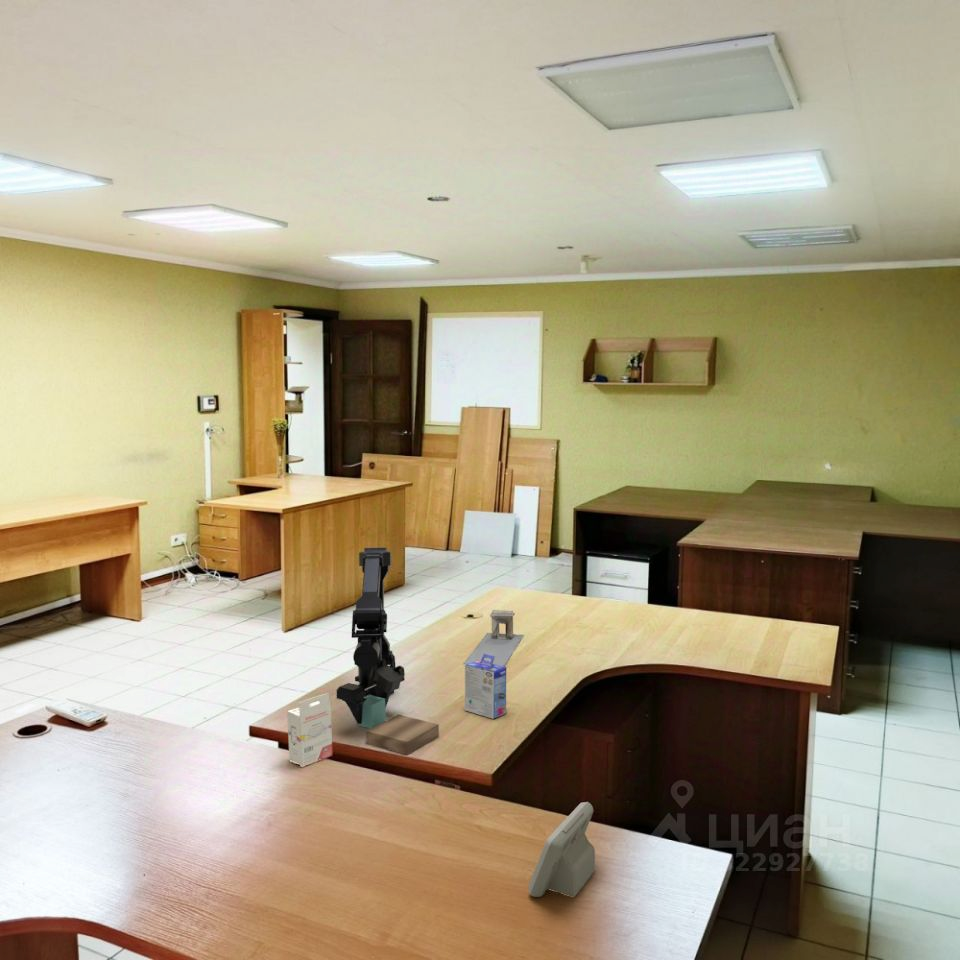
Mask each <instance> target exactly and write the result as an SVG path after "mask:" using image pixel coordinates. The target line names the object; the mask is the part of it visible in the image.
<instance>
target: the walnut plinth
mask: <svg viewBox="0 0 960 960" xmlns="http://www.w3.org/2000/svg"><path fill="white" fill-rule="evenodd" d="M439 725H440V724H439V723H435V722H431V721H426V720H422V719H419V718H414V717H411V716H406V715H402V714H397V715H395V716H392V717H391V718H389V719H386V721H385V722H383V723H381V724H379V725H377V726H375V727H373V728H368V729H367V730H366V731H365V735H366V737H365V740H366V744H367V745H371V746H375V747H378V748H381V749H385V750H389V751H392V752H395V753H398V754H399V753H400V754H403V755H406V756H408V755H410V754H411V753H413V752H415V751H417V750H419V749H421V748H422V747H423V746H426V745H427V744H429V743H430V742H432V741H434V740H436V739H438V738H439V737H440V732H439V730H440V726H439Z"/></svg>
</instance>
